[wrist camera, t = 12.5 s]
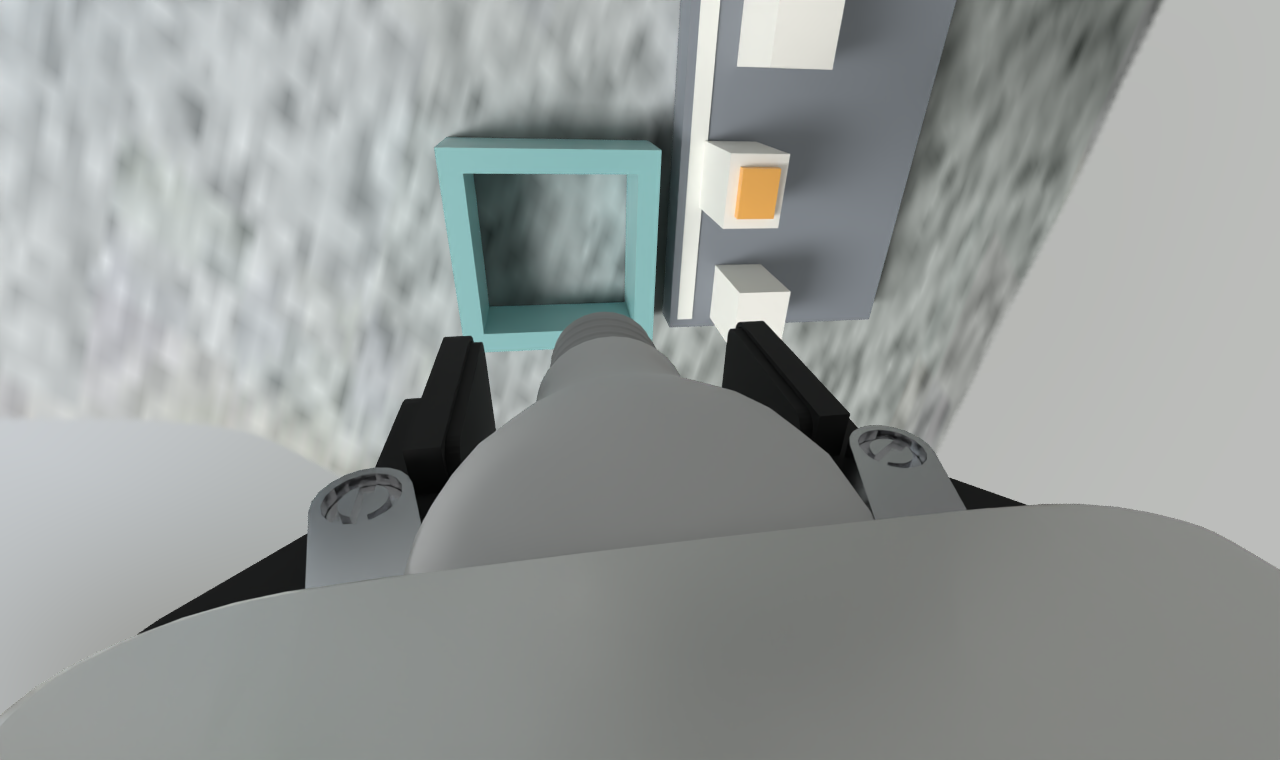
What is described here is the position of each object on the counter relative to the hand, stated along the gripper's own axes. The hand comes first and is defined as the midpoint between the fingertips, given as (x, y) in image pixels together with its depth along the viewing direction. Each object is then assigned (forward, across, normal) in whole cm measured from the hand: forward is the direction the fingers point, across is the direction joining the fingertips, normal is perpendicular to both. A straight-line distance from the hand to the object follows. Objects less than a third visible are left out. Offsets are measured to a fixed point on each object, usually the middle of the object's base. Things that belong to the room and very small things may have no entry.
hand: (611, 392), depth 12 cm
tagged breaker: (+16, -7, -2) cm, 18 cm away
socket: (+18, +1, +1) cm, 18 cm away
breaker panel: (+18, -11, -2) cm, 21 cm away
